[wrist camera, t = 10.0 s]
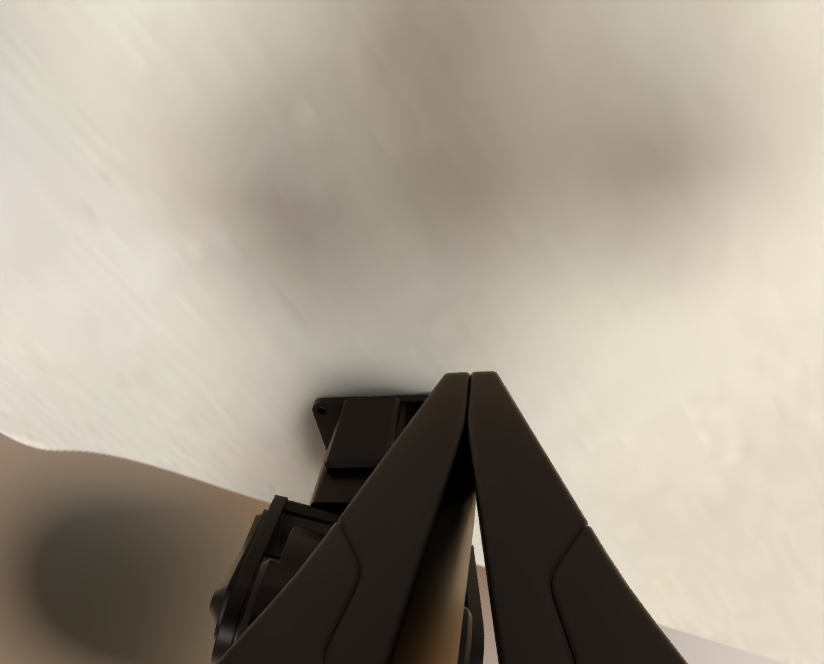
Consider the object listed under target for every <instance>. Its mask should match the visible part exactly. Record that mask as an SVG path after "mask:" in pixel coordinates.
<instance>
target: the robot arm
mask: <svg viewBox="0 0 824 664" xmlns="http://www.w3.org/2000/svg"><path fill="white" fill-rule="evenodd" d="M320 407H322V408H325V409H322V408H320ZM312 411H313V414H314V417H315V420H316V422H317V425H318V428H319V431H320V433H321V436H322V439H323V442H324V444H325V447H326V450H327V452H326V455H325V458H324V461H323V465H322V468H321V471H320V474H319V477H318V480H317V483H316V486H315V489H314V492H313V495H312V498H311V501H310V505H305V504H301V503H297V502H294V501H290V500H288V498H287V497H283V496H279V495H275V497H274V499H273V501H272V503H271V505H270V508H269V510H264V511H263V513H262V514H261V515H257V516H256V517H255V519H254V522H253V524H252V527H251V529H250V532H249V534H248V537H247V539H246V541H245V544H244V545H243V548H242V550H241V552H240V553H239V555H238V557H237V558H236V560H235V561H234V563H233V564H232V566H231V568H230V569H229V571H228V572H227V574H226V575H225V577H224V579H223V580H222V582H221V583H220V585H219V586H218V588H217V589H216V591H215V593H214V595H213V598H212V600H211V603H210V607H209V609H210V612H211V614H212V616H213V618H214V621H215V623H216V628H215V633H214V639H215V644H214V648H213V653H212V660H211V662H212V664H483V654H484V627H483V617H482V609H481V603H480V594H479V587H478V579H477V571H476V563H475V555H474V547H473V545H471V543H472V535H473V526H474V518H475V507H476V502H477V510H478V517H479V525H480V532H481V539H482V546H483V554H484V561H485V568H486V575H487V582H488V590H489V597H490V604H491V611H492V619H493V626H494V633H495V641H496V647H497V655H498V662H499V664H688V663H687V662H686V661H685V660H684V658H683V657H682V656H681V654H680V653H679V652H678V651H677V649H676V648H675V647H674V645H673V644H672V643H671V642H670V640H669V639H668V638H667V637H666V635H665V634H664V633H663V631H662V630H661V629H660V628H659V626H658V625H657V624H656V622H655V621H654V620H653V618H652V617H651V616H650V614H649V613H648V612H647V610H646V609H645V607H644V606H643V605H642V603H641V602H640V601H639V599H638V598H637V597H636V595H635V594H634V593H633V591H632V590H631V589H630V587H629V586H628V584H627V583H626V581H625V580H624V578H623V577H622V575H621V574H620V572H619V571H618V569H617V568H616V566H615V565H614V563H613V562H612V560H611V559H610V557H609V555H608V554H607V552H606V551H605V549H604V548H603V546H602V544H601V543H600V541H599V540H598V538H597V536H596V535H595V533H594V531H593V530H592V528H591V527H590V526H588V522H587V520H586V519H585V517H584V515H583V514H582V512H581V510H580V509H579V507H578V505H577V504H576V502H575V501H574V499H573V497H572V496H571V494H570V492H569V491H568V489H567V487H566V486H565V484H564V482H563V481H562V479H561V478H560V476H559V474H558V473H557V471H556V469H555V468H554V466H553V464H552V463H551V461H550V459H549V458H548V456H547V454H546V453H545V451H544V450H543V448H542V446H541V445H540V443H539V441H538V440H537V438H536V436H535V435H534V433H533V431H532V430H531V428H530V427H529V425H528V423H527V422H526V420H525V418H524V417H523V415H522V413H521V412H520V410H519V408H518V407H517V405H516V403H515V402H514V400H513V399H512V397H511V395H510V394H509V392H508V390H507V389H506V387H505V385H504V384H503V382H502V380H501V379H500V377H499V376H498V374H497V373H496V372H494V371H483V372H473V373H472V374H471V376H470V374H469V373H467V372H459V373H447V374H445V375H444V376H443V377H442V379H441V380H440V381H439V383H438V384H437V386H436V387H435V388H434V390H433V391H432V392H431V394H430V395H404V396H374V397H344V398H320V399H317V400H316V401H315V403H314V406H313V408H312Z"/></svg>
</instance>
